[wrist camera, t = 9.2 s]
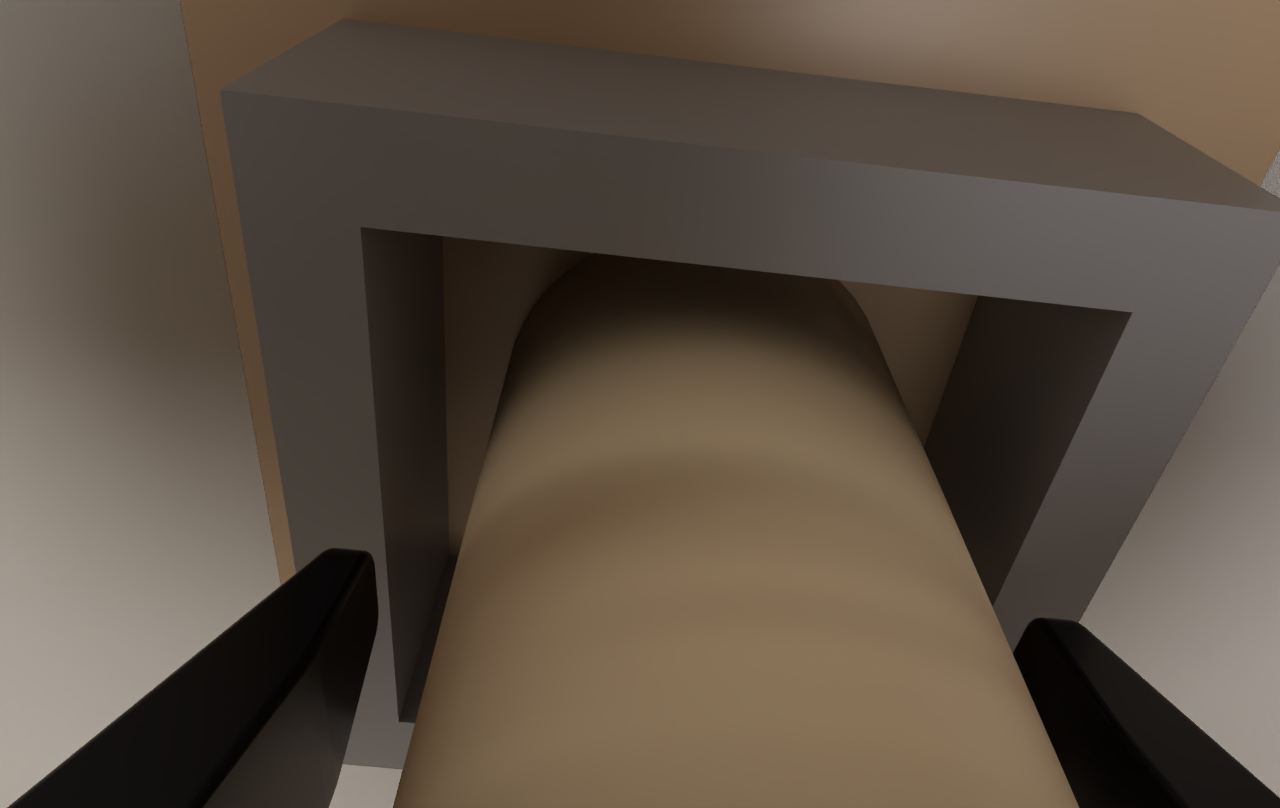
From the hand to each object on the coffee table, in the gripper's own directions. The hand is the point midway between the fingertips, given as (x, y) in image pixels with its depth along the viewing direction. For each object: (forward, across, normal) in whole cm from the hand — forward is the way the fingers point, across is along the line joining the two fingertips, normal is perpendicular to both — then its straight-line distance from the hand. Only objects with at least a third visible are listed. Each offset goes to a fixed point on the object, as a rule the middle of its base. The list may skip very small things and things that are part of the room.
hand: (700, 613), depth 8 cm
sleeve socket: (+5, 0, 0) cm, 5 cm away
